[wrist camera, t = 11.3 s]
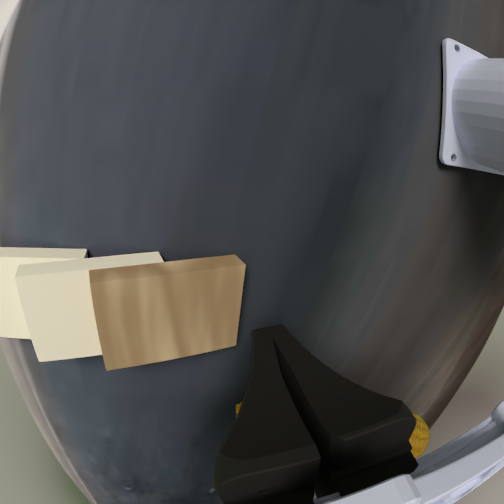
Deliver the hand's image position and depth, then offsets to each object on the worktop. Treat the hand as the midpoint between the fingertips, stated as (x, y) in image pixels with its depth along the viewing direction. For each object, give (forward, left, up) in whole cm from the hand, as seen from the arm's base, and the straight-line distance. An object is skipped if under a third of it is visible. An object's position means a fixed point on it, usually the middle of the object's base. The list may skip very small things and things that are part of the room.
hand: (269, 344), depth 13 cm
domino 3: (+1, 0, -4) cm, 4 cm away
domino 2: (+5, 0, -4) cm, 6 cm away
